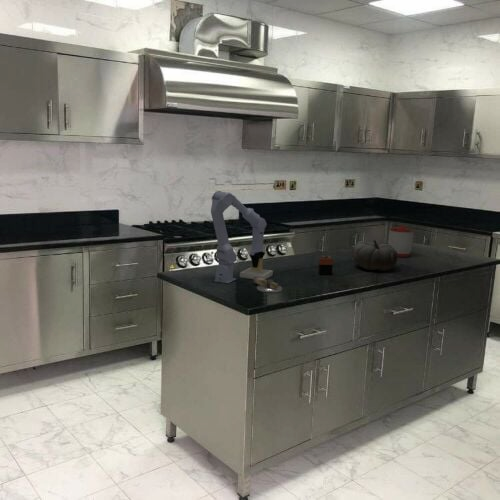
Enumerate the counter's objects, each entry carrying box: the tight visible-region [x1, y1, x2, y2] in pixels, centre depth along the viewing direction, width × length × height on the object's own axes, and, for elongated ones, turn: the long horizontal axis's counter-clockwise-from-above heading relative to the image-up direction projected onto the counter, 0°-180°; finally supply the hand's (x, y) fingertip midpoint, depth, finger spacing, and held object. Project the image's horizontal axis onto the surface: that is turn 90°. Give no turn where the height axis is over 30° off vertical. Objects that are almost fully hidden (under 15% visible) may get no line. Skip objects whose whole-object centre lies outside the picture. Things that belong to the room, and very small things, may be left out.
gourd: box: [352, 239, 399, 272], centre depth 308 cm, size 25×25×17 cm
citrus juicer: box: [387, 224, 416, 258], centre depth 348 cm, size 16×17×20 cm
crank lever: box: [252, 277, 279, 289], centre depth 258 cm, size 16×3×3 cm, turn 42°
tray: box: [239, 267, 274, 280], centre depth 280 cm, size 13×13×2 cm
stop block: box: [251, 257, 264, 271], centre depth 279 cm, size 4×4×6 cm
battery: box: [318, 255, 334, 276], centre depth 290 cm, size 4×7×10 cm, turn 92°
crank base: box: [256, 284, 283, 293], centre depth 257 cm, size 12×12×1 cm
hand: (256, 266), depth 279 cm, fingers closed on stop block, 4 cm apart
